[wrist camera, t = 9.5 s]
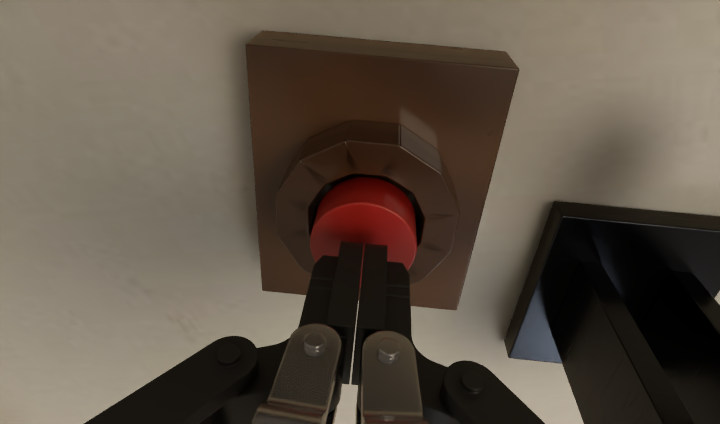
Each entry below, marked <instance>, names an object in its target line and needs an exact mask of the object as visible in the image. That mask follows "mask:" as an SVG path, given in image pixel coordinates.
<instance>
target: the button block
mask: <svg viewBox="0 0 720 424" xmlns="http://www.w3.org/2000/svg"><path fill="white" fill-rule="evenodd" d="M246 60H247V74H248V89H249V103H250V118H251V132H252V147H253V162H254V176H255V191H256V205H257V220H258V234H259V249H260V263H261V278H262V290H263V291H271V292H281V293H291V294H301V295H307V291H308V287H309V283H310V279H311V275H312V270H313V266H314V264H315V263H316V262H315V260H314V258H313V255H312V253H311V248H310V236H311V232H312V228H313V225H314V221H315V218H316V214H317V211H318V207H319V204H320V202H321V200H322V198H323V197H324V195H325V194H326V193H327V192H328V191H329V190H330V189H331V188H332V187H334V186H335V185H337V184H339V183H341V182H343V181H345V180H348V179H352V178H358V177H371V178H377V179H381V180H384V181H386V182H389V183H391V184H393V185H394V186H396V187H397V188H399V189H400V190H401V191H402V192H403V193H404V194H405V195H406V196H407V197H408V199H409V200H410V202H411V203H412V206H413V208H414V212H415V218H416V237H417V253H416V256H415V259H414V262H413V264H412V265H411V267H410V268H409V270H408V273H409V274H410V306H418V307H428V308H438V309H448V310H457V308H458V304H459V300H460V297H461V293H462V289H463V285H464V281H465V277H466V273H467V269H468V266H469V262H470V258H471V254H472V250H473V246H474V242H475V239H476V235H477V231H478V227H479V223H480V219H481V215H482V212H483V208H484V204H485V200H486V196H487V192H488V188H489V185H490V181H491V177H492V173H493V169H494V165H495V161H496V158H497V154H498V150H499V146H500V142H501V138H502V134H503V131H504V127H505V123H506V119H507V115H508V111H509V107H510V103H511V100H512V96H513V92H514V88H515V84H516V80H517V76H518V73H519V68H518V67H517V65H516V64H515V63H514V61H513V60H512V59H511V58H510V56H509V55H508V54H507V52H502V51H490V50H479V49H468V48H456V47H445V46H434V45H422V44H411V43H399V42H388V41H377V40H365V39H354V38H343V37H331V36H320V35H308V34H297V33H286V32H274V31H261V32H260V33H259V34H258V35H256V36H255V37H254V38H253V39H252V40H251V41H249V42H248V43H247V44H246ZM360 289H361V288H359V296H358V300H359V299H360Z"/></svg>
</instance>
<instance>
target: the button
mask: <svg viewBox="0 0 720 424" xmlns="http://www.w3.org/2000/svg"><path fill="white" fill-rule="evenodd" d="M341 241H347V242H357V243H363V253H362V264H361V275H360V286H359V288H361V280H362V270H363V260H364V251H365V243H368V244H379V245H388V250H387V261H389V262H399V263H403V264H404V266H405V268H406V269H407V271H408V270H409V268H410V267H411V265H412V264H413V262H414V259H415V256H416V253H417V237H416V218H415V212H414V208H413V206H412V203H411V202H410V200H409V199H408V197H407V196H406V195H405V194H404V193H403V192H402V191H401V190H400V189H399V188H397V187H396V186H394V185H393V184H391V183H389V182H386V181H384V180H381V179H377V178H371V177H358V178H352V179H348V180H345V181H343V182H341V183H339V184H337V185H335V186H334V187H332V188H331V189H330V190H329V191H328V192H327V193H326V194H325V195H324V197H323V198H322V200H321V202H320V204H319V207H318V211H317V214H316V218H315V221H314V225H313V228H312V232H311V236H310V248H311V253H312V255H313V258H314V260H315V262H317V261H318V260H319V259H320V258H321V257H322V256H323V255H327V256H337V257H338V254H339V249H340V243H341Z"/></svg>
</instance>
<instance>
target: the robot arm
mask: <svg viewBox="0 0 720 424" xmlns="http://www.w3.org/2000/svg"><path fill="white" fill-rule="evenodd" d="M387 250H388V245H379V244H368V243H365V251H364V260H363V270H362V280H361V289H360V299H359V309H358V318H357V328H356V339H355V350H354V361H353V372H352V384H353V385H358V394H357V405H356V424H545V423H544V422H543V421H542V420H541V419H540V418H539V417H538V416H537V415H536V414H534V413H533V412H532V411H531V410H530V409H529V408H528V407H527V406H526V405H525V404H524V403H523V402H522V401H521V400H520V399H519V398H518V397H517V396H516V395H515V394H514V393H513V392H512V391H511V390H510V389H509V388H507V387H506V386H505V385H504V384H503V383H502V382H501V381H500V380H499V379H498V378H497V377H496V376H495V375H494V374H493V373H492V372H491V371H490V370H488V369H487V368H486V367H484V366H483V365H480V364H478V363H475V362H472V361H459V362H455V363H453V364H451V365H450V366H449V367H445V366H443V365H440V364H438V363H435V362H433V361H431V360H429V359H427V358H426V357H424V356H423V355H422V354H421V353H420V352H419V351H418V350H417V349H416V347H415V346H414V344H413V341H412V336H411V306H410V274H409V273H408V271H407V269H406V268H405V266H404V264H403V263H399V262H389V261H387ZM362 253H363V243H357V242H347V241H341V243H340V249H339V254H338V257H337V256H327V255H323V256H322V257H321V258H320V259H319V260H318V261H317V262H316V263H315V264H314V266H313V270H312V275H311V279H310V283H309V287H308V291H307V295H306V299H305V303H304V307H303V311H302V315H301V319H300V323H299V326H298V329H296V330H295V331H294V332H293V333H292V335H291V336H290V338H289V339H287V340H286V341H284V342H282V343H279V344H276V345H272V346H266V347H260V348H256V347H255V345H254V344H253V343H252V342H251V341H250V340H248V339H246V338H244V337H239V336H229V337H224V338H221V339H218V340H216V341H214V342H213V343H211V344H210V345H208V346H206V347H205V348H203V349H202V350H200V351H199V352H197V353H195V354H194V355H192V356H191V357H189V358H187V359H186V360H184V361H183V362H181V363H179V364H178V365H176V366H175V367H173V368H172V369H170V370H168V371H167V372H165V373H164V374H162V375H160V376H159V377H157V378H156V379H154V380H152V381H151V382H149V383H148V384H146V385H145V386H143V387H141V388H140V389H138V390H137V391H135V392H133V393H132V394H130V395H129V396H127V397H125V398H124V399H122V400H121V401H119V402H118V403H116V404H114V405H113V406H111V407H110V408H108V409H106V410H105V411H103V412H102V413H100V414H99V415H97V416H95V417H94V418H92V419H91V420H89V421H87V422H86V423H84V424H334V421H335V417H336V412H337V405H338V403H339V400H340V395H341V387H342V384H349V380H350V371H351V361H352V352H353V343H354V333H355V324H356V315H357V305H358V296H359V286H360V275H361V264H362Z"/></svg>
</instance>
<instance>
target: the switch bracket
mask: <svg viewBox="0 0 720 424" xmlns="http://www.w3.org/2000/svg"><path fill="white" fill-rule="evenodd" d="M719 291H720V217H714V216H704V215H693V214H683V213H672V212H662V211H651V210H641V209H630V208H620V207H610V206H599V205H589V204H578V203H568V202H557V201H555V202H554V203H553V206H552V209H551V211H550V214H549V217H548V220H547V223H546V225H545V228H544V231H543V234H542V237H541V239H540V242H539V245H538V248H537V251H536V253H535V256H534V259H533V262H532V265H531V267H530V270H529V273H528V276H527V278H526V281H525V284H524V287H523V290H522V292H521V295H520V298H519V301H518V304H517V306H516V309H515V312H514V315H513V318H512V320H511V323H510V326H509V329H508V332H507V334H506V337H505V340H504V342H505V346H506V350H507V354H508V357H509V358H514V359H524V360H534V361H543V362H553V363H562V364H563V367H564V370H565V372H566V375H567V378H568V381H569V383H570V386H571V389H572V392H573V395H574V397H575V400H576V403H577V406H578V408H579V411H580V414H581V417H582V419H583V422H584V424H720V305H719V304H718V303H717V301H716V300H715V299H714V298H715V296H716V295H717V293H718V292H719Z"/></svg>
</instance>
